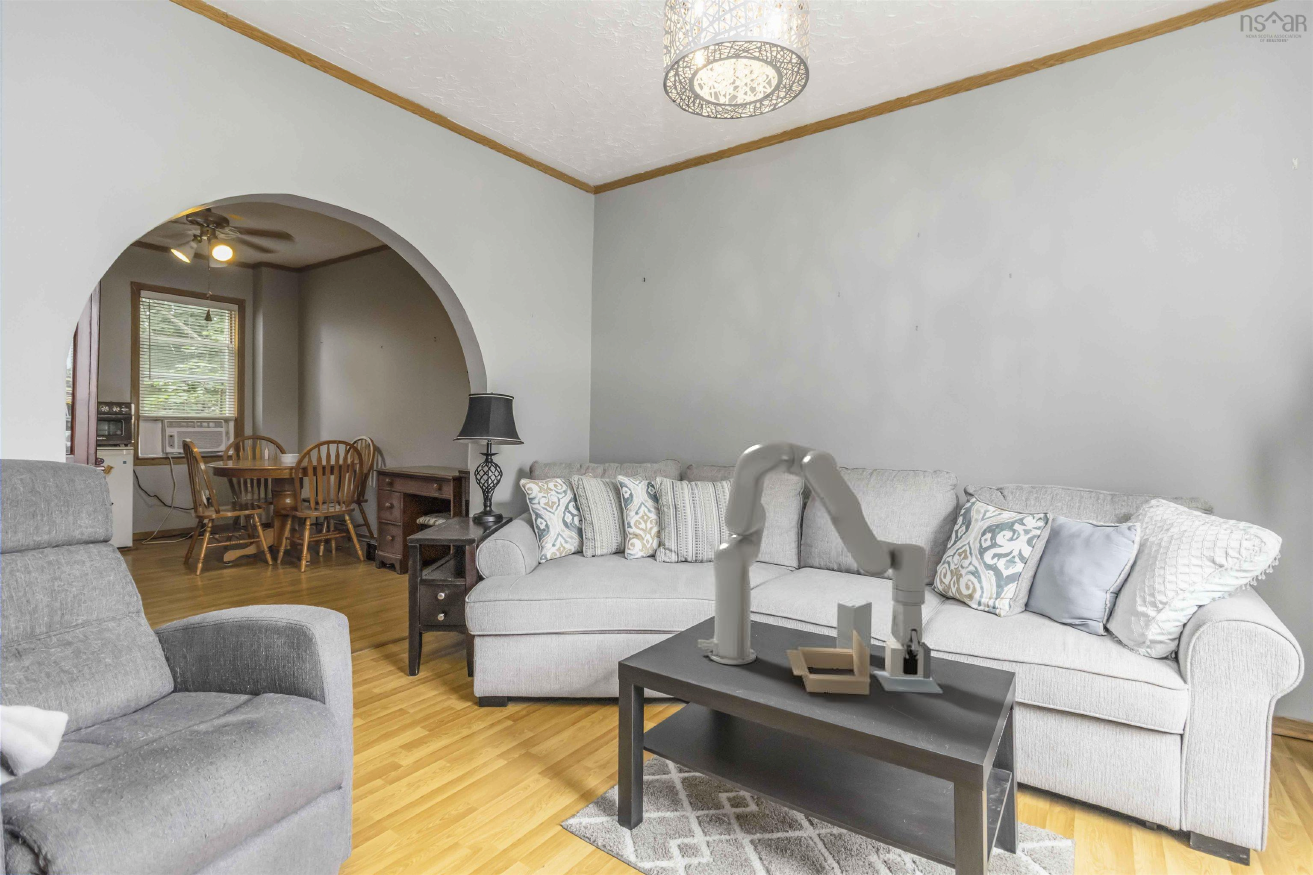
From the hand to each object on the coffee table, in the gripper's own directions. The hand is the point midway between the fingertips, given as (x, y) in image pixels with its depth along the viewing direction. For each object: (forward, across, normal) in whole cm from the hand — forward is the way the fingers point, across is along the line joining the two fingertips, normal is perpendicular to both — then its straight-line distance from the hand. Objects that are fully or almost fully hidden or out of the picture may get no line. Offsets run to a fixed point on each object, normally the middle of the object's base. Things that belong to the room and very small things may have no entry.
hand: (906, 668), depth 160 cm
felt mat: (+3, 0, 0) cm, 3 cm away
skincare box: (+4, -18, -9) cm, 20 cm away
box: (+1, 0, 0) cm, 1 cm away
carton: (+3, 0, -19) cm, 20 cm away
